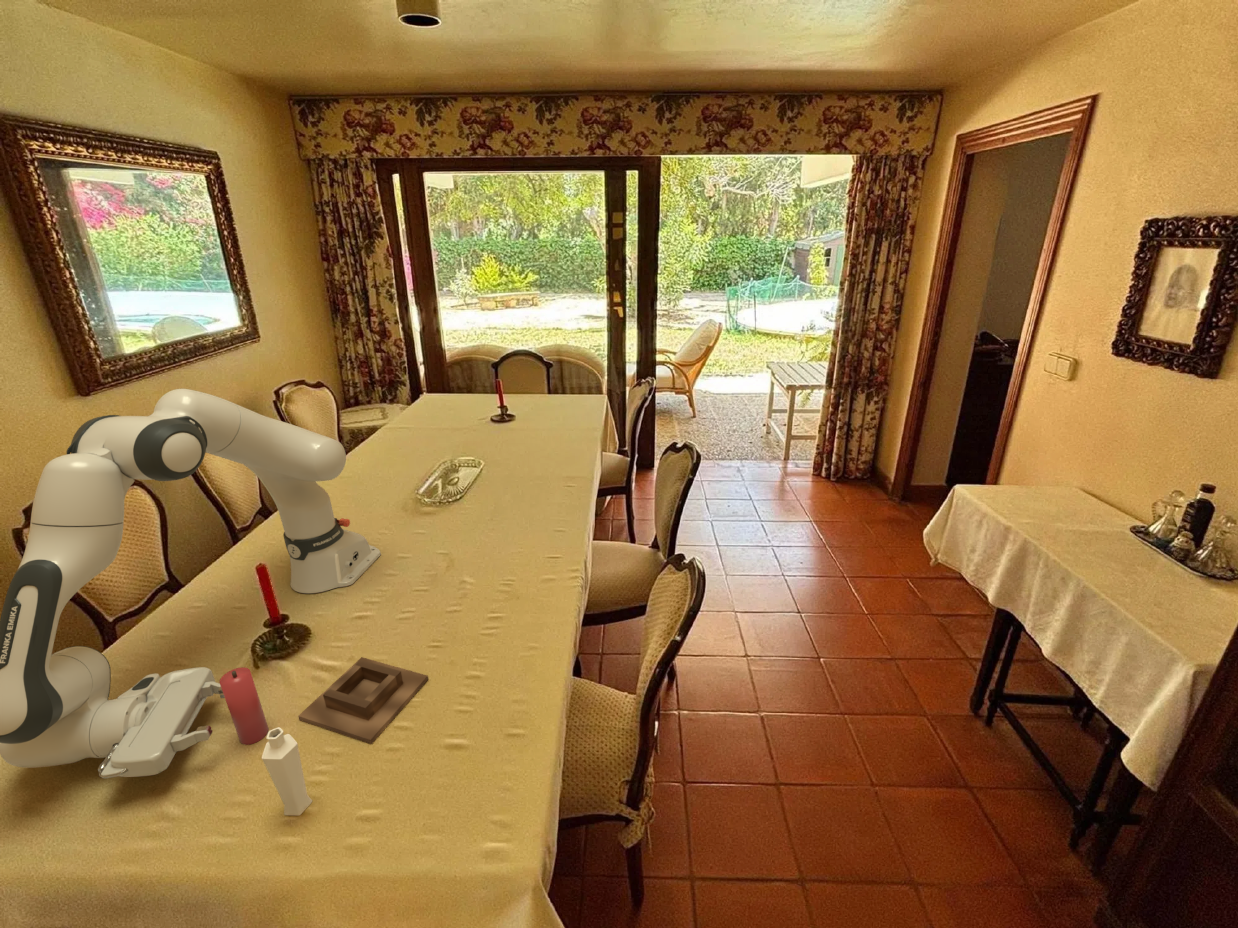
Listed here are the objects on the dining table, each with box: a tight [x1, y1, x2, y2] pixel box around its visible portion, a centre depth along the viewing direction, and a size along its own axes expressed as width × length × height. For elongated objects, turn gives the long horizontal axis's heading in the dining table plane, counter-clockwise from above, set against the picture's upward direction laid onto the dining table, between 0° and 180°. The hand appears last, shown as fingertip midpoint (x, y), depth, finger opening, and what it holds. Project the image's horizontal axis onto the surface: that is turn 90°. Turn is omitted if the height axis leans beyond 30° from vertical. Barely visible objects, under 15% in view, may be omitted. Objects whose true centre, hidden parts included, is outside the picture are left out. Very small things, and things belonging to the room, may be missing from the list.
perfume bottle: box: [261, 726, 313, 816], centre depth 86 cm, size 5×4×15 cm
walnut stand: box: [297, 656, 429, 745], centre depth 108 cm, size 16×16×4 cm
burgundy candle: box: [219, 666, 270, 746], centre depth 99 cm, size 4×4×14 cm
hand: (221, 710), depth 98 cm, fingers open, 8 cm apart
